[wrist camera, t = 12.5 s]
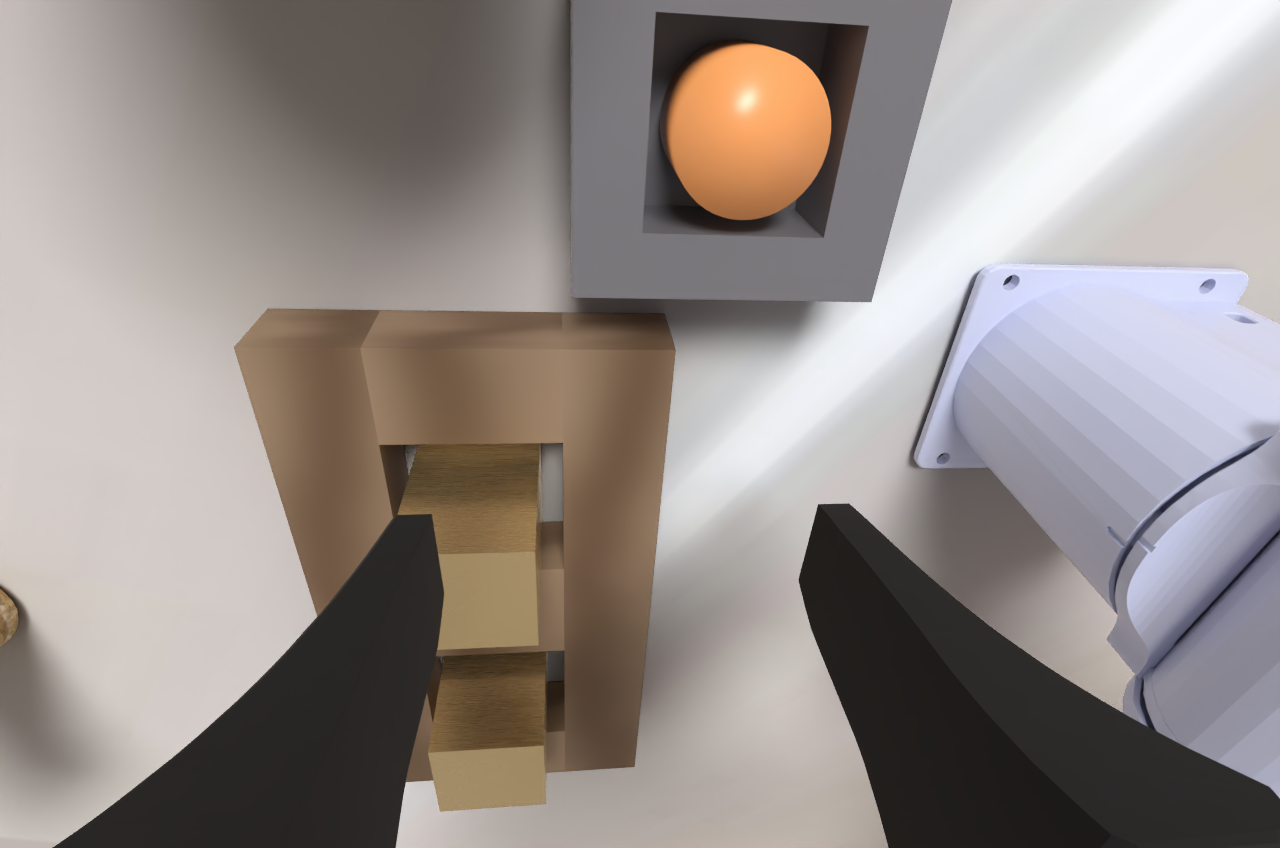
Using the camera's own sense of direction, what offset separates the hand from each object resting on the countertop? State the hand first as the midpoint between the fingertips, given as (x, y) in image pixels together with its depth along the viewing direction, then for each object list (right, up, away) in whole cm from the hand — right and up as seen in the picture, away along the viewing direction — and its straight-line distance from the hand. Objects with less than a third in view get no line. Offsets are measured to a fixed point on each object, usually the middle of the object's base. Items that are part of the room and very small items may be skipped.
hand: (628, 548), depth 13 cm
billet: (-6, -7, +17) cm, 19 cm away
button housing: (+2, +11, +6) cm, 12 cm away
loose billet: (-5, +1, +12) cm, 13 cm away
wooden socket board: (-6, -3, +14) cm, 16 cm away
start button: (+3, +10, +4) cm, 11 cm away
